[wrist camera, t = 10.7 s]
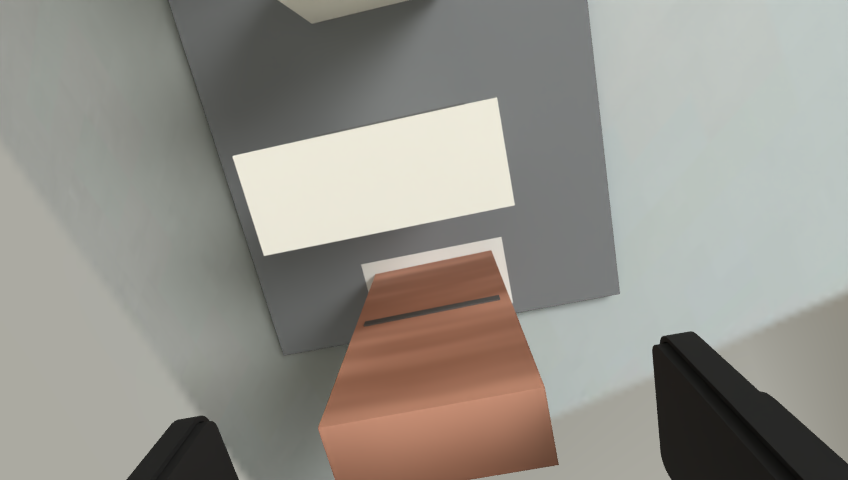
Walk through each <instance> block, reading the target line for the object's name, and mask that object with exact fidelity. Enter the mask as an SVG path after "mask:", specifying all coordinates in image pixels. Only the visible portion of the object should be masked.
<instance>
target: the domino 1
mask: <svg viewBox="0 0 848 480" xmlns="http://www.w3.org/2000/svg"><path fill="white" fill-rule="evenodd" d="M232 157H233V160H234V163H235V166H236V170H237V173H238V176H239V179H240V182H241V185H242V188H243V192H244V195H245V198H246V201H247V204H248V207H249V210H250V214H251V217H252V220H253V223H254V226H255V229H256V232H257V236H258V239H259V242H260V245H261V248H262V251H263V254H264V256H267V255H271V254H276V253H281V252H286V251H291V250H296V249H301V248H306V247H311V246H316V245H321V244H326V243H331V242H336V241H341V240H346V239H351V238H356V237H361V236H365V235H370V234H375V233H380V232H385V231H390V230H395V229H400V228H405V227H410V226H415V225H420V224H425V223H430V222H435V221H440V220H445V219H450V218H455V217H459V216H464V215H469V214H474V213H479V212H484V211H489V210H494V209H499V208H504V207H509V206H514V205H515V203H514V197H513V191H512V185H511V179H510V173H509V167H508V161H507V155H506V149H505V143H504V136H503V130H502V124H501V118H500V112H499V106H498V100H497V97H496V98H491V99H487V100H482V101H477V102H472V103H468V104H465V103H459V104H455V105H450V106H446V107H441V108H437V109H432V110H428V111H423V112H419V113H414V114H410V115H405V116H401V117H396V118H392V119H387V120H383V121H378V122H374V123H369V124H365V125H360V126H356V127H351V128H347V129H342V130H338V131H333V132H329V133H324V134H320V135H315V136H313V138H310V139H306V140H301V141H297V142H292V143H288V144H283V145H279V146H274V147H270V148H266V149H261V150H257V151H252V152H248V153H243V154H239V155H234V156H232Z"/></svg>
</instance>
